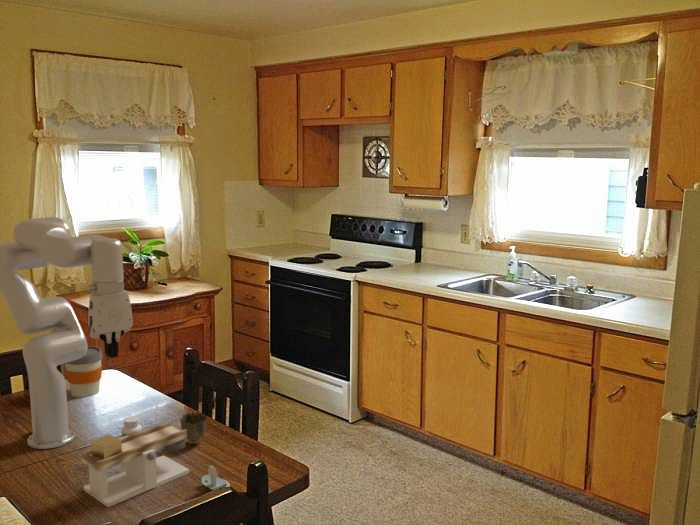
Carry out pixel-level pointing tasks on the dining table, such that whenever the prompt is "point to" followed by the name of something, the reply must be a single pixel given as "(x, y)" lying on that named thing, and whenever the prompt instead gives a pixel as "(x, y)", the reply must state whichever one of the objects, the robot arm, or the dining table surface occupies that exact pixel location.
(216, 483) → the pacifier
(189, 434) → the cup
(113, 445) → the slider weight
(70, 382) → the reusable coffee cup
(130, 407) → the dining table surface
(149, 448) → the balance beam
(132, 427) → the supplement bottle
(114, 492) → the beam stand
